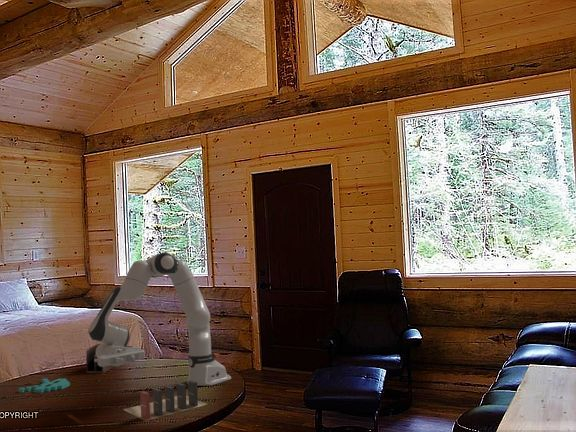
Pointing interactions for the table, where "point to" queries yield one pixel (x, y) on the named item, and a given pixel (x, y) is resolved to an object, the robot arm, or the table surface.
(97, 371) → the letter holder
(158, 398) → the domino
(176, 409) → the birch board
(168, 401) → the domino
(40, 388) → the alien figure
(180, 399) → the domino
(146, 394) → the red domino
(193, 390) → the domino
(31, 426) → the table surface
